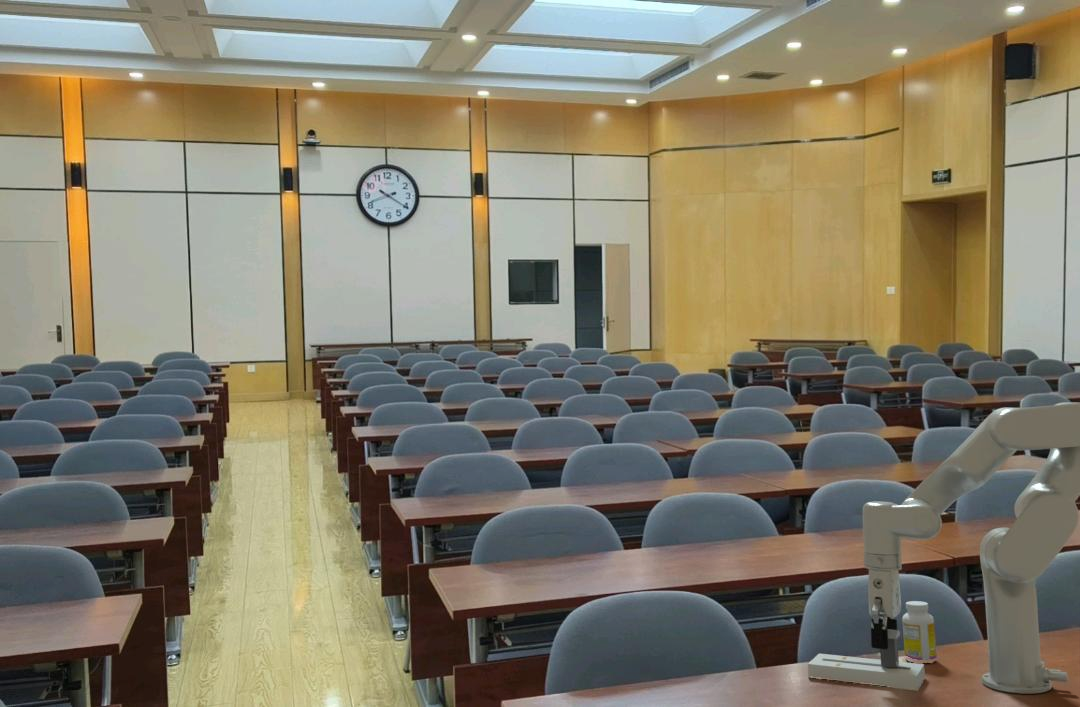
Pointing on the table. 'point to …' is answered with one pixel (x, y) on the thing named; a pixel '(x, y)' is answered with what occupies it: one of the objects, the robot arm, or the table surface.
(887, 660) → the fader tab
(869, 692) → the table surface
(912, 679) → the block
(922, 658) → the supplement bottle
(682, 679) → the table surface
